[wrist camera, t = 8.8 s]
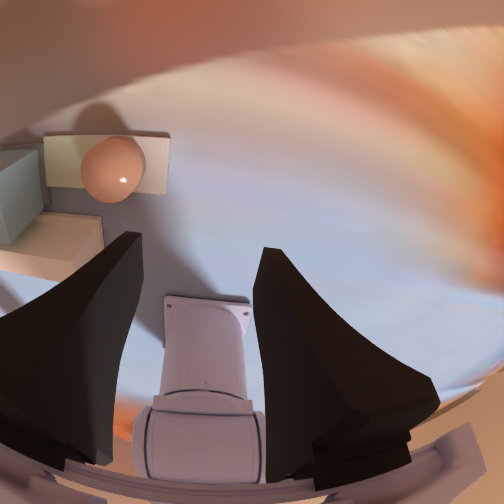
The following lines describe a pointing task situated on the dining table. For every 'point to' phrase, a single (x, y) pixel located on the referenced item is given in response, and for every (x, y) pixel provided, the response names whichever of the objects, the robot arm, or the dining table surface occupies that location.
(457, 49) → the dining table surface
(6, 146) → the pad
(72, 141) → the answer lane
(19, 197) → the blue-grey cube
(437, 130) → the dining table surface
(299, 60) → the dining table surface
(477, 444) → the robot arm
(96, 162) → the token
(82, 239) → the tan rectangular block
